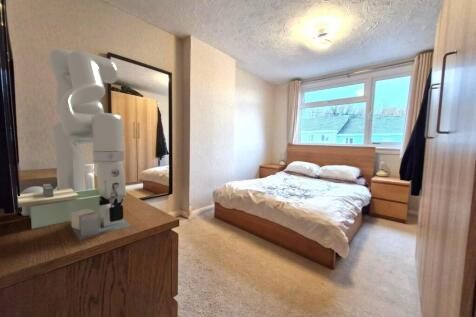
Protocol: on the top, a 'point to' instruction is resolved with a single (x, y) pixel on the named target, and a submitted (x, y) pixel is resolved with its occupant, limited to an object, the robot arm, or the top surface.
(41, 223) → the bin
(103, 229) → the mat
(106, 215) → the white stacked cube
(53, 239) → the top surface
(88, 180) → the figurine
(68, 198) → the lid
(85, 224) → the light grey cube
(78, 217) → the beige cube
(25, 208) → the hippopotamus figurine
